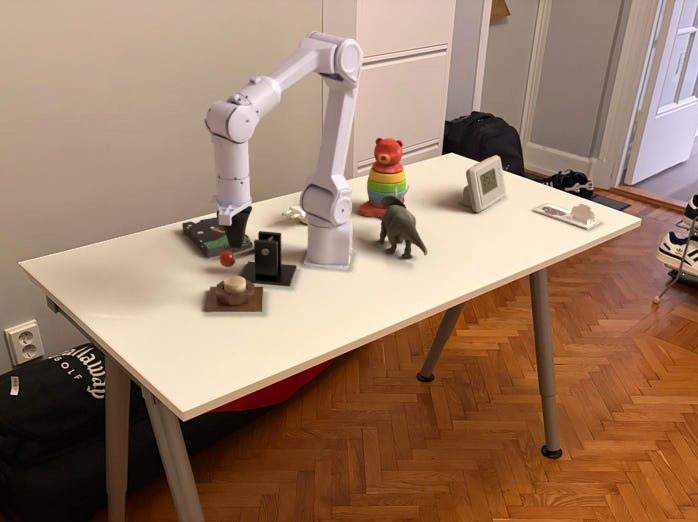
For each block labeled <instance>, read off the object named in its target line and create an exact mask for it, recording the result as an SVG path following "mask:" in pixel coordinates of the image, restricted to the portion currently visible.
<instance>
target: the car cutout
mask: <svg viewBox="0 0 698 522" xmlns="http://www.w3.org/2000/svg"><path fill="white" fill-rule="evenodd" d="M533 212H535V213H538V214H539V215H540V214H541V215H543V216H547V217H549V218H553V219H555V220H557V221H559V222H563V223H566V224H569V225H572V226H574V227H578V228H581V229H584V230H586V231H588V230H590V229H591V228H593V227H595V226H598V225H599V224H601V222H602V221H601V220H599V219H595V216H596V215H595V212H594V211H592V209H591V206H588V205H587V204H583V203H579V204H578V205H577V206H576V205H573V206H572V207H571V210H569V209H567V208H563V207H560V206H557V205H555V204H552V203H549V202H548V203H546V204H543V205H541V206H539V207H537V208H535V209H534V210H533Z"/></svg>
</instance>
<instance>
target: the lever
mask: <svg viewBox="0 0 698 522" xmlns="http://www.w3.org/2000/svg"><path fill="white" fill-rule="evenodd" d="M262 240H268V241H275V239H274V237H273V236H271V237H268V238H265V239H262ZM251 255H254V246H252V248H249V249H246V250H243V251H240V252H236V253H232V252H230V251H224V252H222V253H221V255H220V256H218V260H219V263H220V264H221V266H223V267H225V268H231V267H232V266H234V265H235V264H236V261H237V260H239V259H242V258H245V257H248V256H251Z"/></svg>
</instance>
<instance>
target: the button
mask: <svg viewBox="0 0 698 522" xmlns="http://www.w3.org/2000/svg"><path fill="white" fill-rule="evenodd" d="M223 281H224V290H225V292H229V293H240V292H244V291H245V290H246V280H245V278H243V277H241V276H239V275H230V276H228V277H225V278H224V279H223Z"/></svg>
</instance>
